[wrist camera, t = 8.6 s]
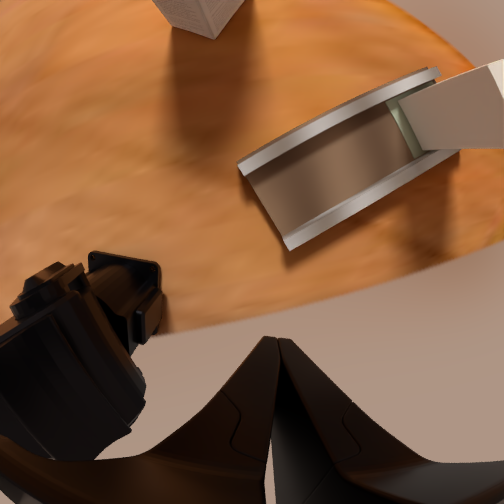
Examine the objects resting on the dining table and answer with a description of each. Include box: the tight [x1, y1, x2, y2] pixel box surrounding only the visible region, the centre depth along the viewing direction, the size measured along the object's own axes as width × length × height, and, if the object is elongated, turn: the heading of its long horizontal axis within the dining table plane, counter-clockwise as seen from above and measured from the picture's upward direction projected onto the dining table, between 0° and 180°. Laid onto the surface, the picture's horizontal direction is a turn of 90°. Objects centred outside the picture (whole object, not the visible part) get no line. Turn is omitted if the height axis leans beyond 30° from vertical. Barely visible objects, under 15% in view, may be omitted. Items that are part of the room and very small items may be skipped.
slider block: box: [398, 59, 504, 150], centre depth 12 cm, size 4×4×10 cm
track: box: [237, 66, 461, 251], centre depth 18 cm, size 17×7×2 cm, turn 121°
